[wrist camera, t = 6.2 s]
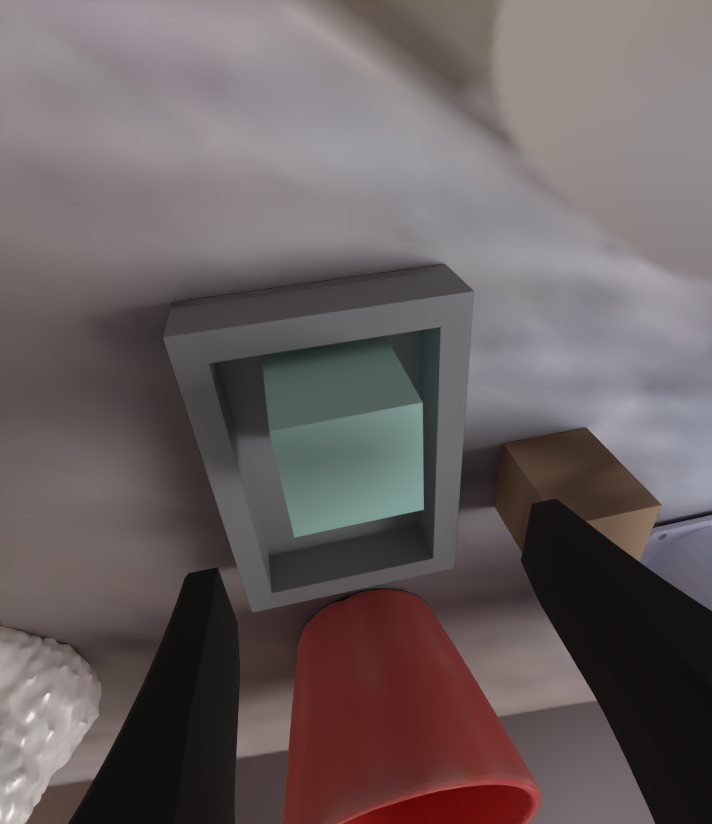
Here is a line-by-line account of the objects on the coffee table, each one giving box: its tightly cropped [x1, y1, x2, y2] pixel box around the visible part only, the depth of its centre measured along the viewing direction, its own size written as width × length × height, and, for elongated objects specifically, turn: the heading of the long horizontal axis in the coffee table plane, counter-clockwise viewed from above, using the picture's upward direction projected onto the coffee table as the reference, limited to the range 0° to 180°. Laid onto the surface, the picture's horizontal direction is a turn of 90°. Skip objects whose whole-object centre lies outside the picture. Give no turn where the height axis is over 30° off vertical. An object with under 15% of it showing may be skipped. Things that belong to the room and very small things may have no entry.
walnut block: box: [495, 428, 662, 561], centre depth 22 cm, size 4×4×5 cm
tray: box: [163, 264, 474, 613], centre depth 19 cm, size 9×13×2 cm
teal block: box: [261, 336, 424, 538], centre depth 16 cm, size 4×4×5 cm
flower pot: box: [283, 590, 541, 824], centre depth 24 cm, size 11×11×10 cm
